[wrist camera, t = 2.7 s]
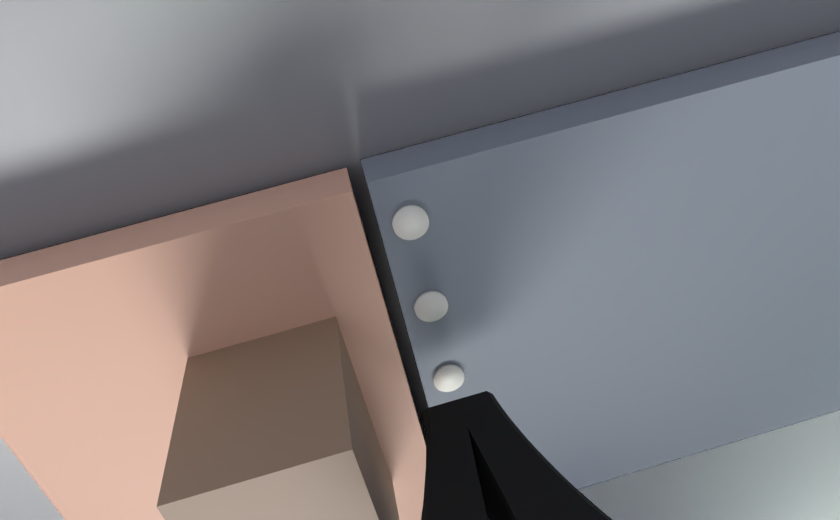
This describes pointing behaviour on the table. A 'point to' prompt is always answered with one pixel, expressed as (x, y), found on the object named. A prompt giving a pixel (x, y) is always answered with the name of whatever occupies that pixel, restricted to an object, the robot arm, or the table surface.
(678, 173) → the board
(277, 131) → the table surface
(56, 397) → the stub
